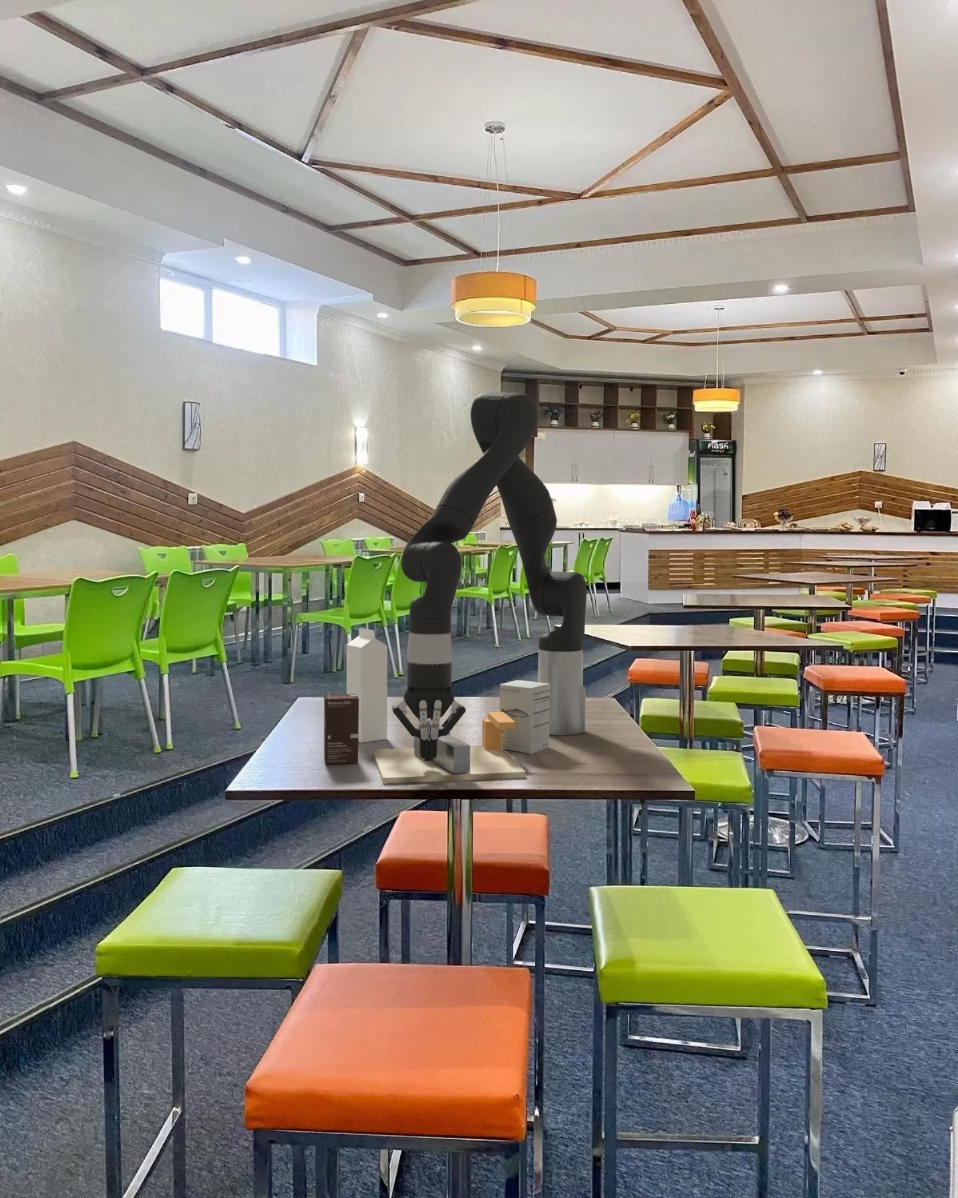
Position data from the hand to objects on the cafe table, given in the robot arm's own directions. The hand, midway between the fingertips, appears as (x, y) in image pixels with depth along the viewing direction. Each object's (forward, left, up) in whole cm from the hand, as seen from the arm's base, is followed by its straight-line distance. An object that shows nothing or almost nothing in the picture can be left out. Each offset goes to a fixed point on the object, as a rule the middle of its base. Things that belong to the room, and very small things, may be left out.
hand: (428, 760), depth 162 cm
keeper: (-14, -10, -3) cm, 17 cm away
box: (+14, -12, -3) cm, 19 cm away
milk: (+8, -31, -3) cm, 32 cm away
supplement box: (-21, -17, -3) cm, 27 cm away
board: (-4, -6, -3) cm, 8 cm away
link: (-3, -4, -1) cm, 5 cm away
